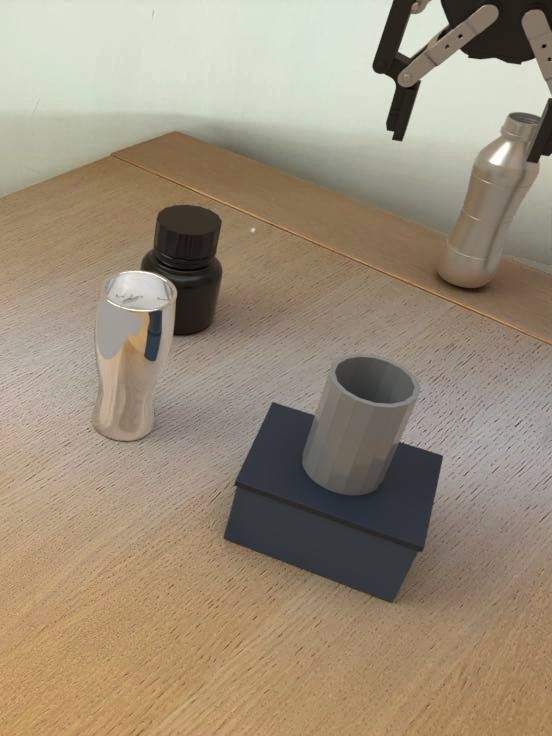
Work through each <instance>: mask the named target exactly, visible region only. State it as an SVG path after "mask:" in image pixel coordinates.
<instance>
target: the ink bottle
mask: <svg viewBox="0 0 552 736" xmlns="http://www.w3.org/2000/svg"><path fill="white" fill-rule="evenodd" d="M222 225H223V220H222V219H221V218H220V215H219V214H217V213H216V212H214V211H213V210H211V209H210V208H206V207H202V206H200V205H191V204H173V205H170V206H168V207H164V208H163V209H161V210H160V211H158V213H157V216H156V220H155V228H154V235H153V243H152V247H153V248H152V249H150V250H148V251H147V252H146V253H145V254H144V256H143V257H142V259H141V262H140V267H139V270H141V271H148V272H152V273H155V274H158V275H161V276H163V277H165V278H166V279H168V280H169V281H171V282H172V283H173V285H174V286H175V288H176V290H177V298H176V313H175V325H174V333H173V335H184V334H193V333H196V332H199V331H201V330H204V329H205V328H208V327H209V326H210V325H211V324H212V323H213V321H214V319H215V315H216V309H217V304H218V300H219V294H220V289H221V284H222V279H223V271H224V270H223V266H222V263H221V261H220V260H219V258H218V257H216V255H217V251H218V244H219V239H220V234H221V229H222Z"/></svg>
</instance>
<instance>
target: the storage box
mask: <svg viewBox="0 0 552 736" xmlns="http://www.w3.org/2000/svg"><path fill="white" fill-rule="evenodd" d="M314 417H315V414H312V413H309V412H307V411H302V410H299V409H296V408H293V407H291V406H287V405H283V404H280V403H277V402H273V401H272V402H271V404H270V406H269V408H268V411H267V413H266V415H265V417H264V419H263V421H262V423H261V426H260V427H259V430H258V431H257V433H256V436H255V438H254V440H253V442H252V443H251V447H250V448H249V450H248V453H247V455H246V457H245V459H244V460H243V461H244V462H243V463H242V466H241V468H240V469H239V472H238V473H237V476H236V478H235V480H234V483H233V484H234V485H233V486H234V487H236V488H235V492H234V496H233V500H232V504H231V507H230V510H229V515H228V519H227V523H226V527H225V530H224V533H223V540H227V541H229V542H231V543H235V544H237V545H240V546H242V547H245V548H246V549H247V548H248V549H250V550H253V551H255V552H258V553H260V554H262V555H266V556H268V557H271V558H273V559H276V560H279V561H281V562H284V563H287V564H289V565H291V566H294V567H297V568H300V569H301V570H302V569H303V570H305V571H308V572H310V573H312V574H315V575H318V576H320V577H323V578H326V579H329V580H331V581H333V582H336V583H339V584H342V585H344V586H346V587H349V588H352V589H354V590H357V591H360V592H362V593H365V594H367V595H370V596H373V597H375V598H378V599H381V600H383V601H386V602H389V603H391V604H393V603H394V601H395V599H396V597H397V595H398V593H399V591H400V590H401V588H402V585H403V584H404V581H405V579H406V577H407V575H408V574H409V571H410V569H411V567H412V565H413V564H414V562H415V559H416V557H417V555H418V553H422V552H423V551H424V550H425V546H426V541H427V535H428V531H429V526H430V522H431V521H430V520H431V516H432V512H433V508H434V502H435V497H436V494H437V493H436V492H437V489H438V483H439V480H440V479H439V478H440V473H441V468H442V464H443V460H444V455H443V454H440V453H436V452H433V451H430V450H427V449H424V448H420V447H417V446H414V445H412V444H411V445H410V444H407V443H405V442H401V441H400V442H399V444H398V446H397V449H396V451H395V453H394V456H393V458H392V461H391V463H390V465H389V468H388V470H387V473H386V475H385V477H384V480H383V481H382V483H381V485H380V486H379V487H378V488H377V489H376V490H374V491H373V492H371V493H368V494H365V495H357V496H351V495H343V494H339V493H335V492H332V491H330V490H327V489H325V488H323V487H322V486H320V485H318V484H317V483H316V482H314V481H313V480H312V479H311V478H310V477H309V476H308V474H307V473H306V472H305V470H304V468H303V465H302V456H303V451H304V448H305V445H306V442H307V439H308V436H309V433H310V430H311V427H312V423H313V420H314Z"/></svg>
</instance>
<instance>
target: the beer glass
mask: <svg viewBox="0 0 552 736" xmlns="http://www.w3.org/2000/svg"><path fill="white" fill-rule="evenodd" d="M176 298H177V290H176V288H175V286H174V285H173V283H172V282H171V281H169V280H168V279H166V278H165V277H163V276H161V275H158V274H155V273H152V272H148V271H141V270H140V269H128V270H122V271H117V272H115V273H112V274H110V275H108V276H107V277H106V278H104V280H103V281H102V282H101V284H100V292H99V297H98V303H97V306H96V307H97V308H96V313H95V322H94V332H93V333H94V335H93V342H94V343H93V344H94V355H95V363H96V364H95V365H96V366H95V367H96V373H97V382H98V383H97V384H98V386H97V387H98V389H97V396H96V398H95V401H94V402H95V403H94V405H93V408H92V412H91V422H92V426H93V427H94V428H95V430H96V431H97V432H98V433H100V434H101V435H103V436H104V437H106V438H108V439H110V440H115V441H121V442H131V441H137V440H141V439H142V438H144V437H146V436H148V435H149V434H151V432H152V431H153V429H154V426H155V408H154V407H155V406H154V401H155V400H154V399H155V393H156V390H157V388H158V387H157V386H158V385H159V381H160V379H161V376H162V374H163V371H164V368H165V366H166V363H167V361H168V358H169V355H170V352H171V351H170V350H171V348H172V343H173V339H174V334H173V333H174V325H175V313H176Z"/></svg>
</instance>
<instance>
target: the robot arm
mask: <svg viewBox="0 0 552 736" xmlns="http://www.w3.org/2000/svg"><path fill="white" fill-rule="evenodd" d="M431 1H432V0H392V3H391V6H390V9H389V12H388V15H387V17H386V21H385V24H384V28H383V31H382V34H381V36H380V39H379V42H378V45H377V49H376V52H375V54H374V57H373V61H372V64H371V67H372V70H373V72H374V73H376V74H378V75H384V76H387V77H389V78H391V79H392V80H393V81H394V85H395V90H394V93H393V97H392V100H391V104H390V107H389V111H388V115H387V118H386V121H385V126H386V127H385V128H386V131H388V132H392V133H393V134H392V138H391V141H395V142H401V143H402V142H403V141H404V138H405V135H406V133H407V130H408V127H409V123H410V120H411V116H412V113H413V110H414V106H415V103H416V100H417V97H418V93H419V90H420V86H421V83H422V80H421V79H422V78H424V77H425V76H426V75H427V74H428V73H429V72H431V71H432V70H433V69H435V68H436V67H439V66H440V65H442V64H443V63H444V62H445V61H446V60H448V59H449V58H450V57H452V56H453V55H454V54H455V53H456V52H458V51H459V50H460V51H461V52H462V53H463V54H465V55H467V58H468V59H474V60H480V61H481V60H489V59H497V60H499V61H502V62H504V63H506V64H513V65H520V66H521V65H522V63H525V62H529V61H532V60H534V59H535V60H536V63H537V65H538V67H539V71H540V72H541V75H542V78H543V80H544V81H545V82H546V85H547V87H548V91H549V93H550V95H551V96H552V0H440V5H441V7H442V10H443V13H444V15H445V18H446V20H447V23H448V24H447V25H445V27H443V28H442V29H441V30H439V31H438V33H436V34H435V35H434V36H433V37H431V39H430V40H429V41H428V42H427V43H425V45H423V46H422V47H421V48H419V50H417V51H416V52H415V53H413V54H412V55H411V56H410V57H409V56H407V55H406V54H403V53H402V52H400V51H399V50H400V47H401V44H402V41H403V37H404V35H405V32H406V30H407V27H408V23H409V21H410V18H411V15H419V14H421V13H422V12H424V11H425V9H426V8H427V6H428V4H429V3H430V2H431ZM543 108H544V109H543V111H542V113H541V116H540V117H541V118H540V121H539V123H538V125H537V128H536V130H535V133H534V135H533V138H532V140H531V143H530V145H529V148H528V151H527V154H526V162H530V163H536V164H537V163H538V162H539V161H540V160H541V158H542V156H543V157H550V156H551V155H552V97H548V98H547V101H546V103H545V106H544V107H543Z"/></svg>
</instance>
